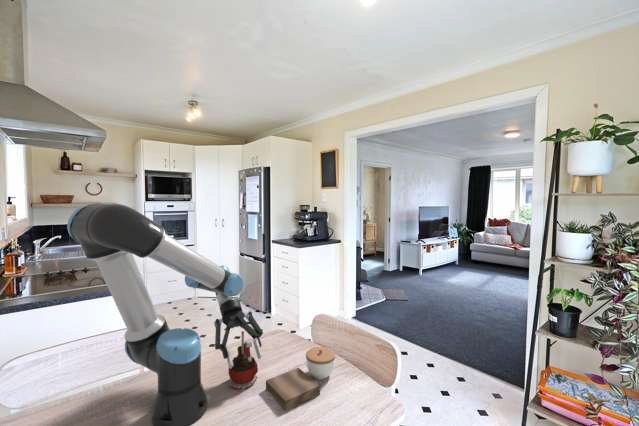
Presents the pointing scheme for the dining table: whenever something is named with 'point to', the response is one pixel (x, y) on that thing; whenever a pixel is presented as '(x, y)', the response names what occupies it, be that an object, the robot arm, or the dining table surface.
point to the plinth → (292, 388)
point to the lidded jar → (320, 362)
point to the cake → (243, 367)
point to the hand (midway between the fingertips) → (246, 361)
